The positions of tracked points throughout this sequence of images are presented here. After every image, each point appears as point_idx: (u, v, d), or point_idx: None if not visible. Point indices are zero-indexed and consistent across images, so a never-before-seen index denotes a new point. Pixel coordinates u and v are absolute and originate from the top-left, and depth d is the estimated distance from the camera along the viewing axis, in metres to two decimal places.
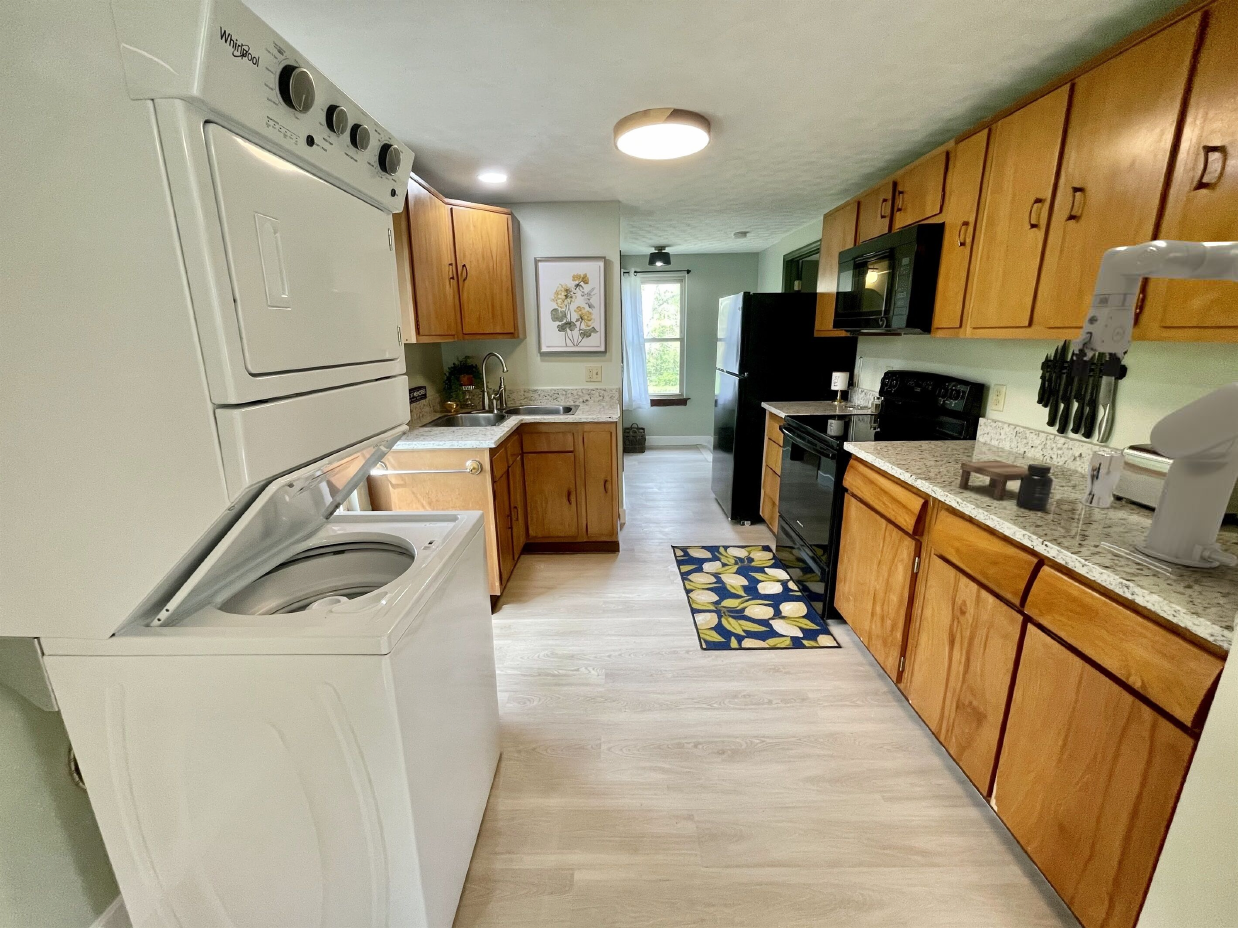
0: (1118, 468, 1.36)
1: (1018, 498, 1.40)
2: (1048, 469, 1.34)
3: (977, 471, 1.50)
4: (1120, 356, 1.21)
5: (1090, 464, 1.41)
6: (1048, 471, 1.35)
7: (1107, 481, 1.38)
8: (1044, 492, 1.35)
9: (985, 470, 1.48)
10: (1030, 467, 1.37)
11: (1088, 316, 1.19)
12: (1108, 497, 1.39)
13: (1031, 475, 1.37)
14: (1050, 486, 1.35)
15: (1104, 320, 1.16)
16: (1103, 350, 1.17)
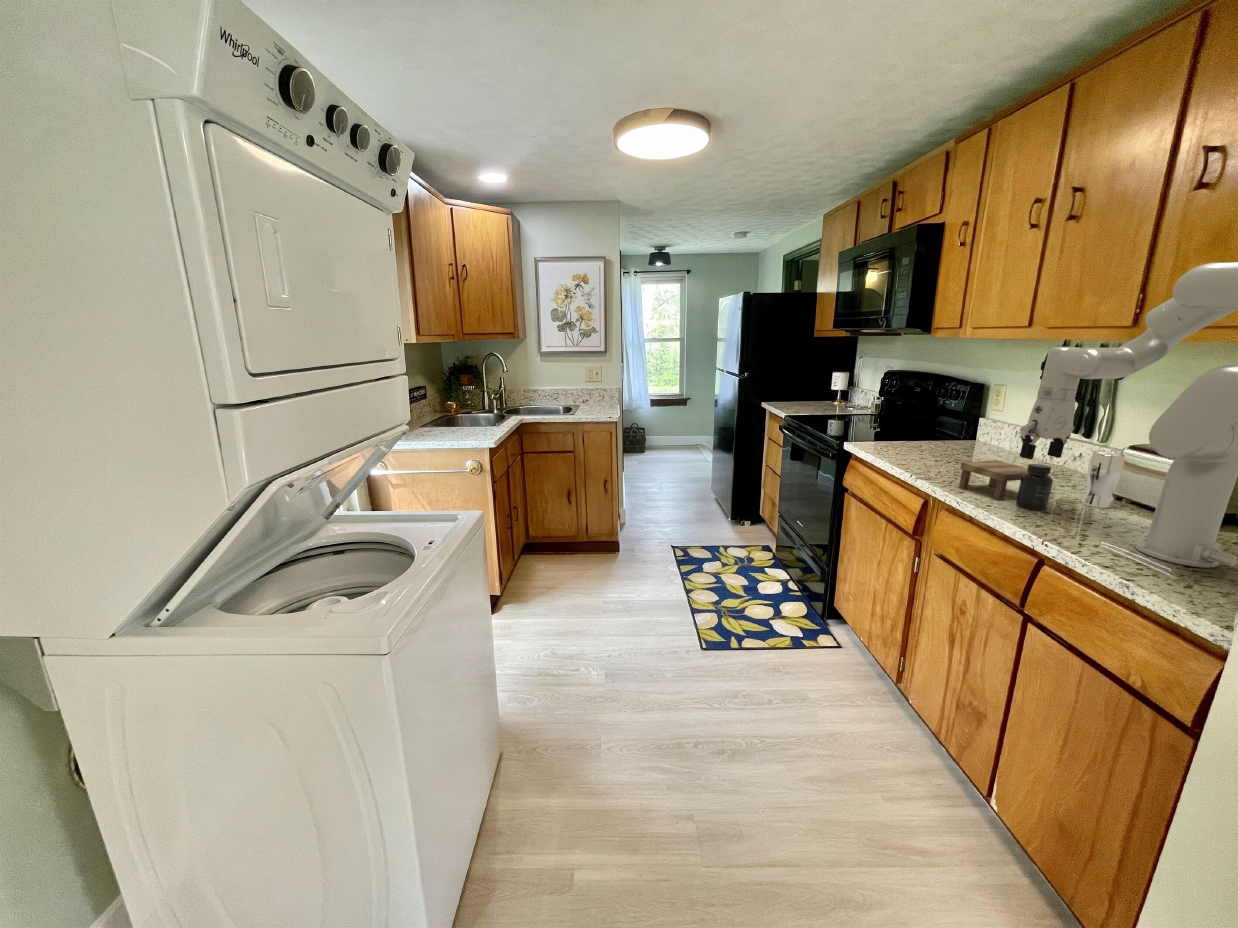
0: (1118, 468, 1.36)
1: (1018, 498, 1.40)
2: (1048, 469, 1.34)
3: (977, 471, 1.50)
4: (1063, 440, 1.35)
5: (1090, 464, 1.41)
6: (1048, 471, 1.35)
7: (1107, 481, 1.38)
8: (1044, 492, 1.35)
9: (985, 470, 1.48)
10: (1030, 467, 1.37)
11: (1034, 405, 1.33)
12: (1108, 497, 1.39)
13: (1031, 475, 1.37)
14: (1050, 486, 1.35)
15: (1047, 411, 1.30)
16: (1046, 437, 1.31)
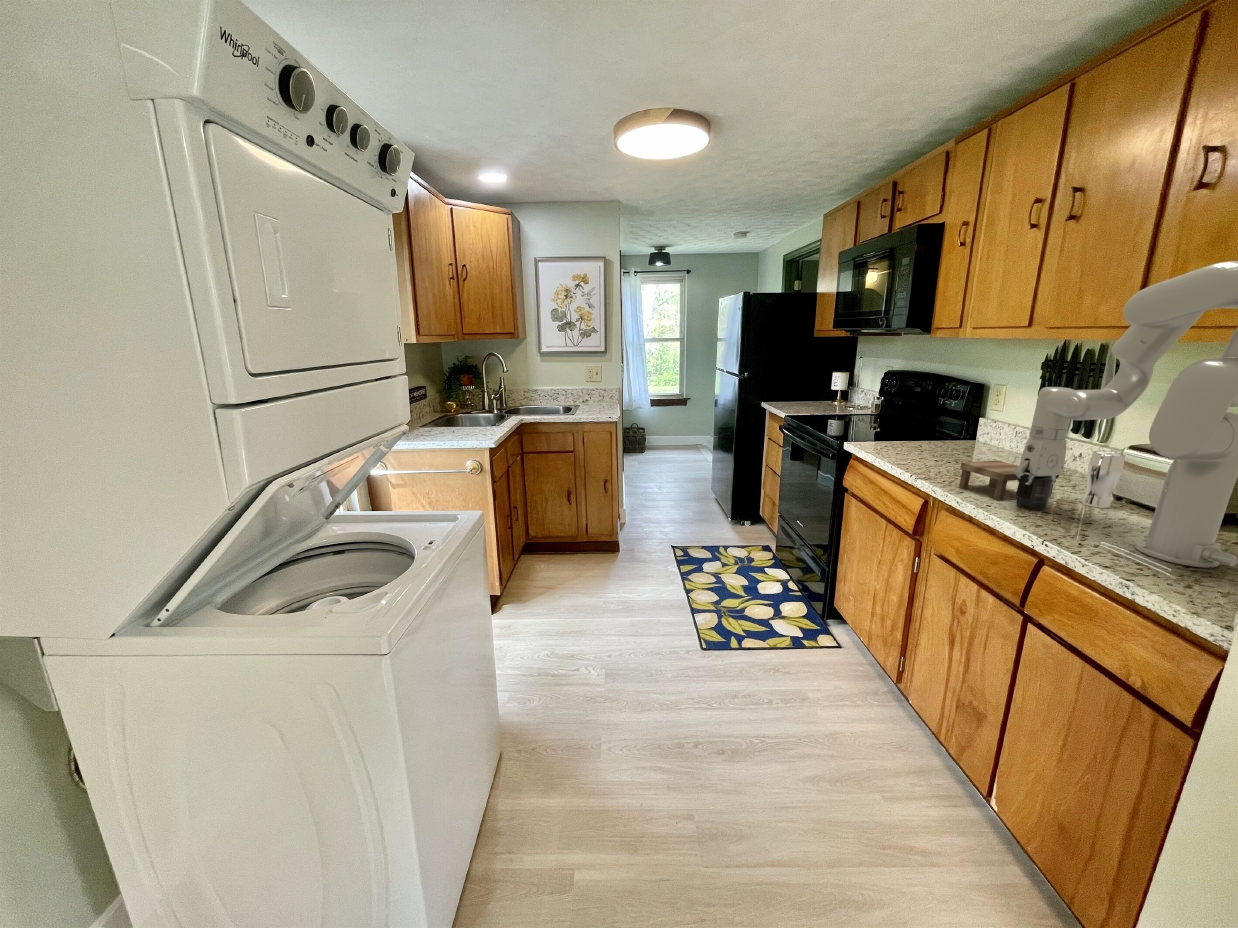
0: (1118, 468, 1.36)
1: (1018, 498, 1.40)
2: None
3: (977, 471, 1.50)
4: None
5: (1090, 464, 1.41)
6: None
7: (1107, 481, 1.38)
8: (1044, 492, 1.35)
9: (985, 470, 1.48)
10: None
11: (1027, 444, 1.35)
12: (1108, 497, 1.39)
13: None
14: (1050, 486, 1.35)
15: (1039, 450, 1.32)
16: (1039, 475, 1.34)
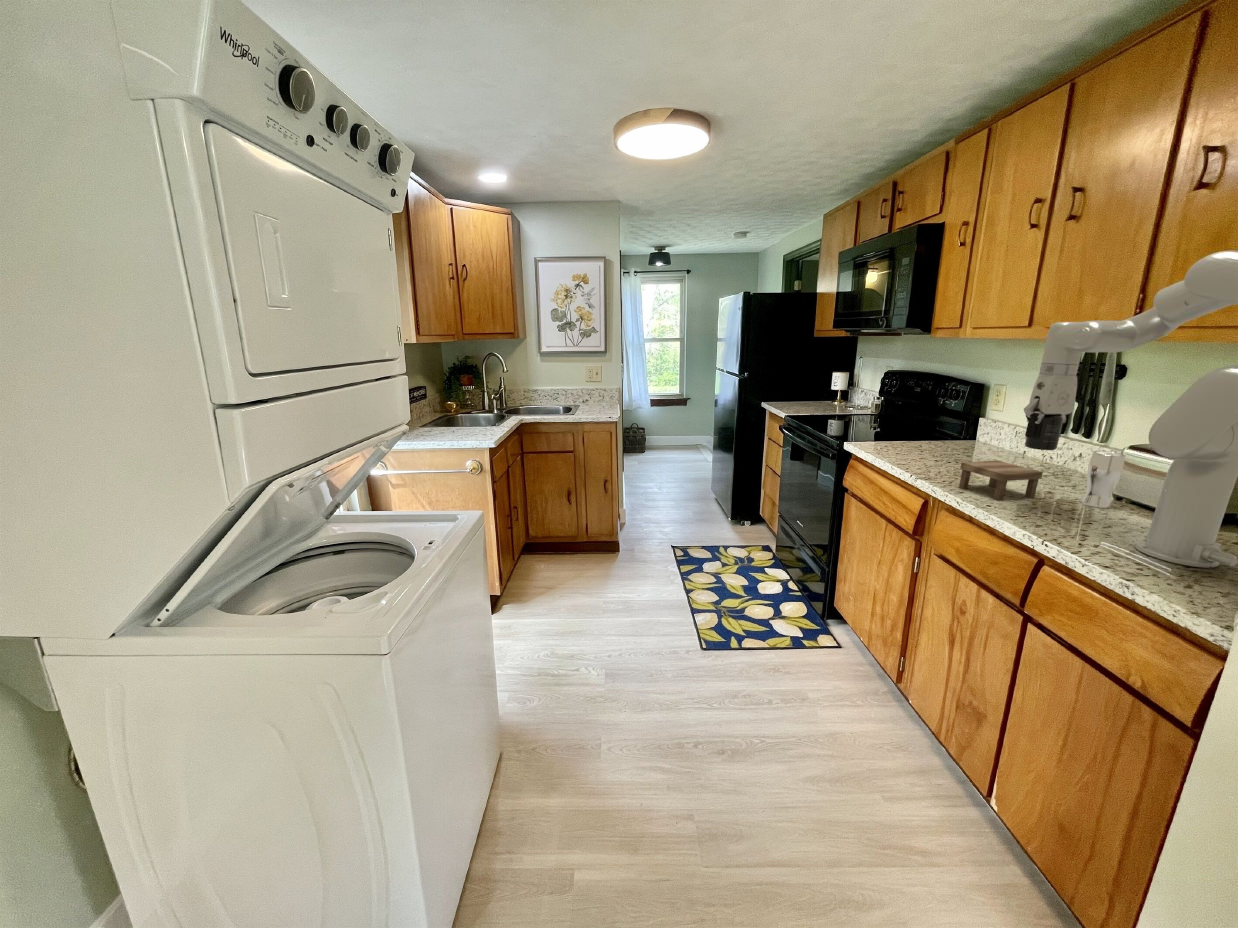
0: (1118, 468, 1.36)
1: (1027, 439, 1.37)
2: None
3: (977, 471, 1.50)
4: None
5: (1090, 464, 1.41)
6: None
7: (1107, 481, 1.38)
8: (1054, 431, 1.32)
9: (985, 470, 1.48)
10: None
11: (1036, 381, 1.32)
12: (1108, 497, 1.39)
13: None
14: (1060, 424, 1.32)
15: (1050, 387, 1.29)
16: (1049, 413, 1.31)
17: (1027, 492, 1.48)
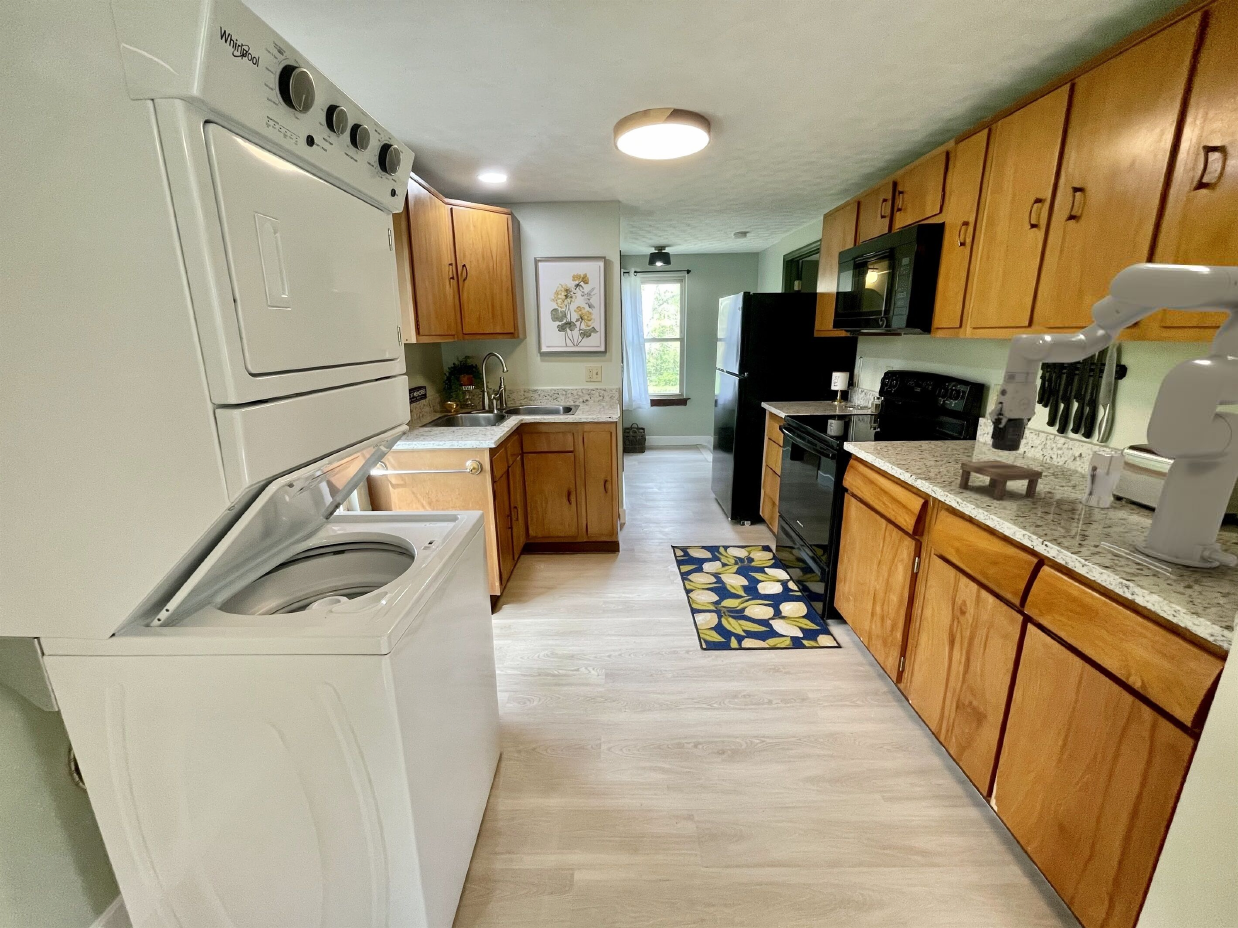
0: (1118, 468, 1.36)
1: (993, 441, 1.49)
2: None
3: (977, 471, 1.50)
4: None
5: (1090, 464, 1.41)
6: None
7: (1107, 481, 1.38)
8: (1016, 433, 1.44)
9: (985, 470, 1.48)
10: None
11: (1000, 388, 1.45)
12: (1108, 497, 1.39)
13: None
14: (1022, 428, 1.44)
15: (1011, 393, 1.42)
16: (1011, 417, 1.43)
17: (1027, 492, 1.48)
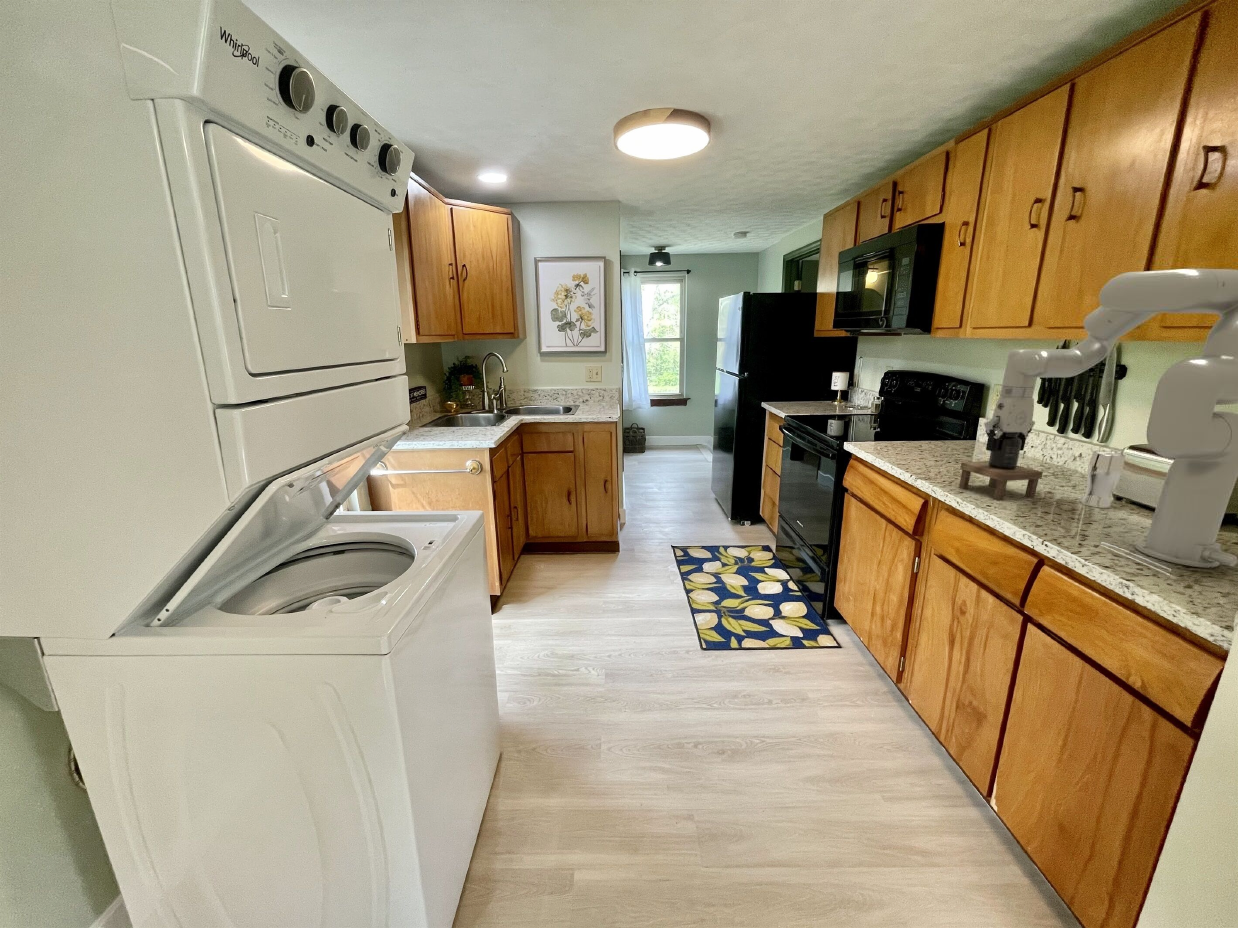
0: (1118, 468, 1.36)
1: (990, 459, 1.50)
2: None
3: (977, 471, 1.50)
4: (1025, 434, 1.48)
5: (1090, 464, 1.41)
6: (1017, 432, 1.45)
7: (1107, 481, 1.38)
8: (1013, 452, 1.46)
9: (985, 470, 1.48)
10: None
11: (997, 402, 1.46)
12: (1108, 497, 1.39)
13: (1001, 436, 1.47)
14: (1019, 446, 1.46)
15: (1008, 407, 1.43)
16: (1009, 431, 1.44)
17: (1027, 492, 1.48)
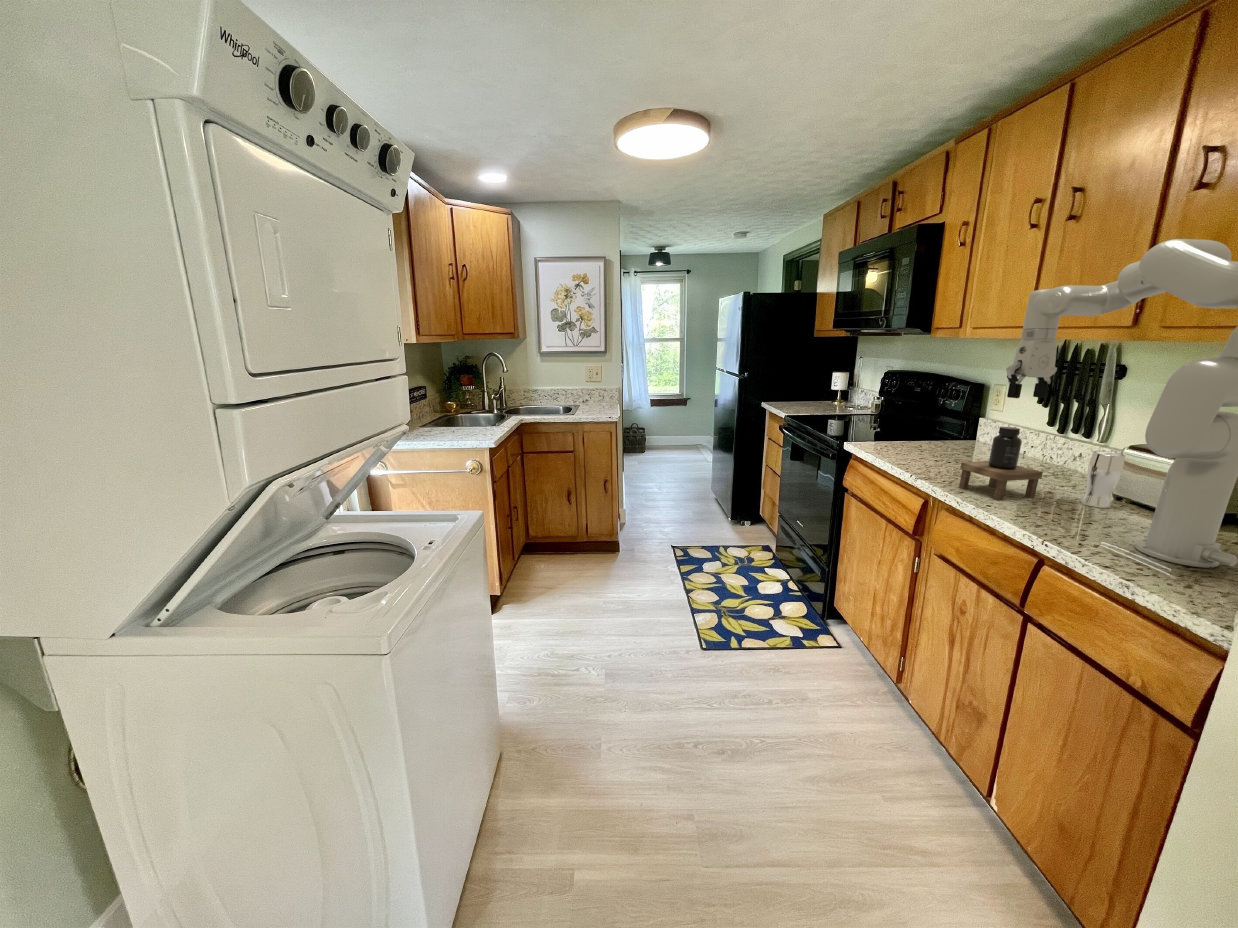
0: (1118, 468, 1.36)
1: (990, 459, 1.50)
2: (1017, 431, 1.45)
3: (977, 471, 1.50)
4: (1047, 380, 1.42)
5: (1090, 464, 1.41)
6: (1017, 432, 1.45)
7: (1107, 481, 1.38)
8: (1013, 452, 1.46)
9: (985, 470, 1.48)
10: (1001, 429, 1.48)
11: (1019, 347, 1.40)
12: (1108, 497, 1.39)
13: (1001, 436, 1.47)
14: (1019, 446, 1.46)
15: (1031, 350, 1.37)
16: (1031, 375, 1.39)
17: (1027, 492, 1.48)
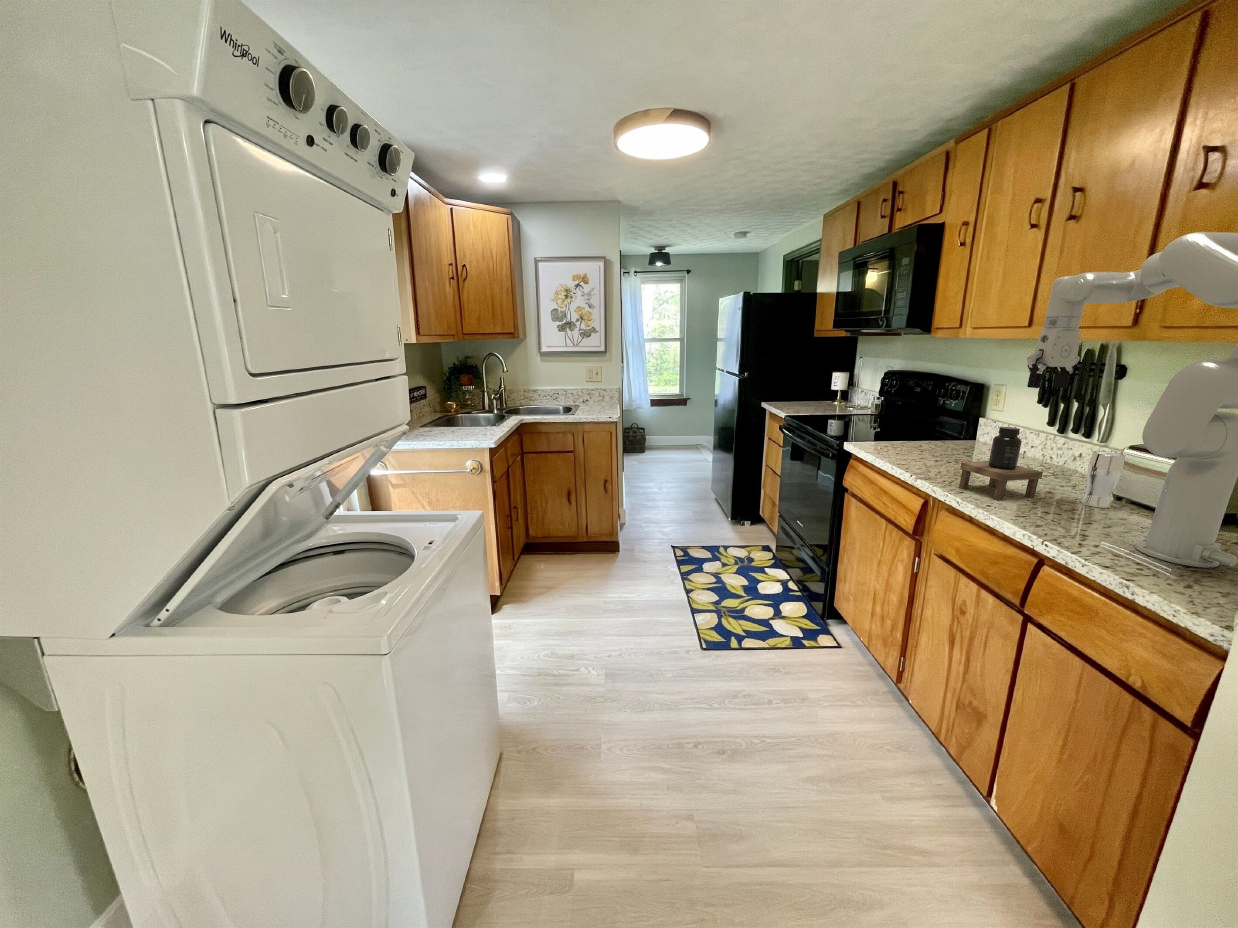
0: (1118, 468, 1.36)
1: (990, 459, 1.50)
2: (1017, 430, 1.45)
3: (977, 471, 1.50)
4: (1069, 370, 1.39)
5: (1090, 464, 1.41)
6: (1017, 432, 1.45)
7: (1107, 481, 1.38)
8: (1013, 452, 1.46)
9: (985, 470, 1.48)
10: (1000, 429, 1.48)
11: (1040, 335, 1.37)
12: (1108, 497, 1.39)
13: (1001, 436, 1.47)
14: (1019, 446, 1.46)
15: (1053, 339, 1.34)
16: (1053, 365, 1.36)
17: (1027, 492, 1.48)
